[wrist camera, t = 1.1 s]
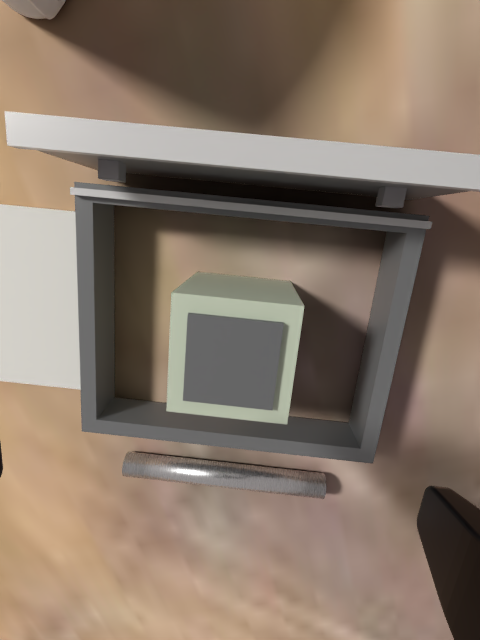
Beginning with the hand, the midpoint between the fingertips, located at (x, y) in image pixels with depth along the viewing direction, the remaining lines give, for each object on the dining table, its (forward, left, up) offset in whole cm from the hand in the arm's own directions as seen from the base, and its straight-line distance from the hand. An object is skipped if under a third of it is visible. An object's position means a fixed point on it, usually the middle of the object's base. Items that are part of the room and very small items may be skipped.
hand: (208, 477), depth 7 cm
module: (0, 0, -13) cm, 13 cm away
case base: (0, 0, -13) cm, 13 cm away
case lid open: (0, -7, -13) cm, 15 cm away
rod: (0, +10, -13) cm, 16 cm away
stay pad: (+12, 0, -13) cm, 17 cm away
